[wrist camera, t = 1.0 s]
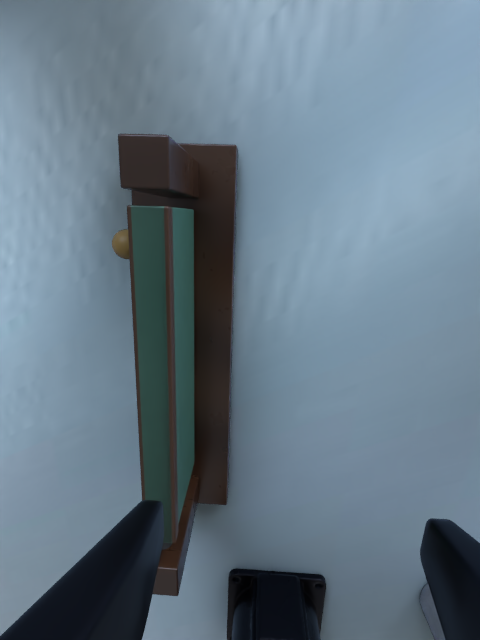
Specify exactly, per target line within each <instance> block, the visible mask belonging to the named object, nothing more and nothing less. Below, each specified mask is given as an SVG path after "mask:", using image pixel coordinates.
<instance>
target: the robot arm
mask: <svg viewBox="0 0 480 640" xmlns="http://www.w3.org/2000/svg"><path fill="white" fill-rule="evenodd" d="M163 540H164V514H163V504H162V502H161V501H156V500H143V501H141V502H140V503H139V504H138V505H137V506H136V507H135V508H134V509H133V510H132V511H130V512H129V513H128V514H127V515H126V516H125V517H124V518H123V519H122V520H121V521H120V522H119V523H118V524H117V525H116V526H115V527H114V528H113V529H112V530H111V531H110V532H109V533H108V534H106V535H105V536H104V537H103V538H102V539H101V540H100V541H99V542H98V543H97V544H96V545H95V546H94V547H93V548H92V549H91V550H90V551H89V552H88V553H87V554H86V555H85V556H84V557H82V558H81V559H80V560H79V561H78V562H77V563H76V564H75V565H74V566H73V567H72V568H71V569H70V570H69V571H68V572H67V573H66V574H65V575H64V576H63V577H62V578H61V579H59V580H58V581H57V582H56V583H55V584H54V585H53V586H52V587H51V588H50V589H49V590H48V591H47V592H46V593H45V594H44V595H43V596H42V597H41V598H40V599H39V600H38V601H37V602H35V603H34V604H33V605H32V606H31V607H30V608H29V609H28V610H27V611H26V612H25V613H24V614H23V615H22V616H21V617H20V618H19V619H18V620H17V621H16V622H15V623H14V624H12V625H11V626H10V627H9V628H8V629H7V630H6V631H5V632H4V633H3V634H2V635H1V636H0V640H142V636H143V633H144V629H145V625H146V621H147V616H148V612H149V607H150V602H151V598H152V593H153V588H154V584H155V579H156V574H157V569H158V565H159V560H160V555H161V551H162V546H163ZM420 556H421V562H422V566H423V569H424V572H425V575H426V579H427V582H428V585H429V588H430V592H431V595H432V598H433V601H434V605H435V608H436V611H437V614H438V617H439V621H440V624H441V627H442V630H443V634H444V637H445V640H480V543H479V542H478V541H476V540H475V539H474V538H473V537H471V536H470V535H469V534H468V533H466V532H465V531H464V530H463V529H461V528H460V527H459V526H458V525H456V524H455V523H454V522H452V521H450V520H447V519H433V518H431V519H429V520H428V521H427V523H426V526H425V531H424V535H423V540H422V544H421V549H420ZM325 590H326V583H325V578H324V577H323V576H321V575H317V574H303V573H289V572H275V571H261V570H247V569H233V570H231V571H230V573H229V588H228V619H227V640H320V628H321V621H322V613H323V606H324V598H325Z"/></svg>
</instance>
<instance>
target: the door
mask: <svg viewBox="0 0 480 640" xmlns="http://www.w3.org/2000/svg"><path fill="white" fill-rule="evenodd" d="M127 217H128V230H127V229H125V230H121V231H119V232H117V233H116V234H115V235H114V237H113V240H112V247H113V250H114V252H115V253H116V254H117V255H118V256H119V257H121V258H124V259H130V275H131V294H132V313H133V332H134V351H135V370H136V390H137V409H138V428H139V447H140V466H141V485H142V501H143V500H156V501H161V502H162V504H163V514H164V540H163V546H162V550H165V549H168V548H169V547H170V546H171V545H172V543H176V540H177V536H178V524H179V520H180V516H181V512H182V508H183V504H184V501H185V497H186V493H187V489H188V485H189V481H190V478H191V474H192V470H193V466H194V462H195V454H194V210H193V209H184V208H174V207H166V206H136V205H128V206H127Z"/></svg>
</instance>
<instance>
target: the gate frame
mask: <svg viewBox="0 0 480 640" xmlns="http://www.w3.org/2000/svg"><path fill="white" fill-rule="evenodd" d="M118 145H119V163H120V180H121V188H123V189H128V190H132V205H136V206H166V207H174V208H184V209H193V210H194V454H195V462H194V466H193V470H192V474H191V478H190V481H189V485H188V489H187V493H186V497H185V501H184V504H183V508H182V512H181V516H180V520H179V524H178V536H177V540H176V543H172V545H171V546H170V547H169V548H168V549H165V550H162V551H161V555H160V560H159V565H158V569H157V574H156V579H155V584H154V588H153V593H152V594H157V595H170V596H178V593H179V589H180V584H181V579H182V575H183V570H184V565H185V561H186V556H187V551H188V546H189V542H190V537H191V532H192V528H193V523H194V518H195V513H196V509H197V504H198V503H202V504H218V505H226V504H227V498H228V475H229V440H230V404H231V369H232V334H233V299H234V264H235V228H236V193H237V158H238V149H237V146H236V145H222V144H184V143H176V142H175V141H174V140H173V139H172V138H171V137H169V136H168V135H156V134H118Z"/></svg>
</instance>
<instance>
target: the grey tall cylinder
mask: <svg viewBox="0 0 480 640" xmlns="http://www.w3.org/2000/svg"><path fill="white" fill-rule="evenodd" d="M420 603H421V607H422V609H423V612H424V615H425V617H426V620H427V622H428V624H429V627H430V629H431V632H432V634H433V637H434V639H435V640H445V637H444V634H443V630H442V627H441V624H440V621H439V617H438V614H437V611H436V608H435V605H434V601H433V598H432V595H431V592H430V588H429V585H428V583H427V584H426V585H425V586H424V588H423V589H422V592H421V595H420Z"/></svg>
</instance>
